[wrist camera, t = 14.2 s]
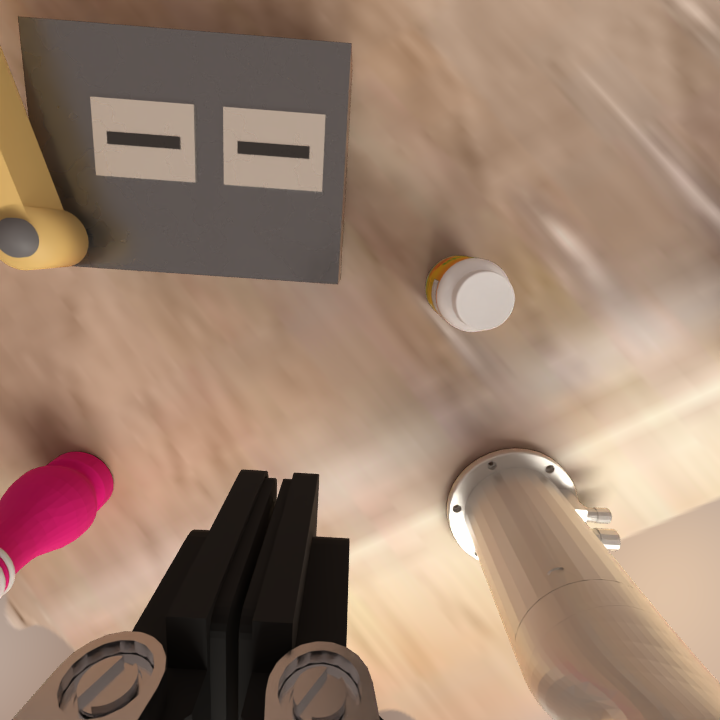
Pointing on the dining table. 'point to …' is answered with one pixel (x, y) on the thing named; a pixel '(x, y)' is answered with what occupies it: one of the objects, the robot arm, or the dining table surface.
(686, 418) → the dining table surface
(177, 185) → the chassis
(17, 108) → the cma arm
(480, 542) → the robot arm
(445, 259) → the supplement bottle
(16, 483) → the pepper mill
